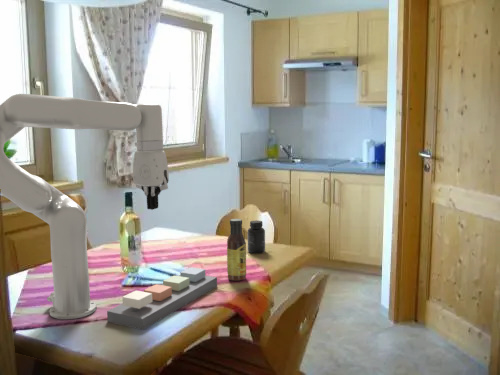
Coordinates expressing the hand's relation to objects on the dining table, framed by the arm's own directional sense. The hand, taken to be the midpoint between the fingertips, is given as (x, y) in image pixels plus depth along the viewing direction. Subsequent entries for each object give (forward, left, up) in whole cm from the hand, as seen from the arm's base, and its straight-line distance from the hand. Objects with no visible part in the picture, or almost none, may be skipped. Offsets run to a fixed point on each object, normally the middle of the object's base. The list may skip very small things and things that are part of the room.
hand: (152, 208), depth 161 cm
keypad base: (+6, -3, -27) cm, 28 cm away
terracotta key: (+6, -7, -24) cm, 26 cm away
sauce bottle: (+14, +25, -27) cm, 40 cm away
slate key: (+6, +11, -24) cm, 27 cm away
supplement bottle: (+5, +57, -27) cm, 63 cm away
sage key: (+6, +2, -24) cm, 25 cm away
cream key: (+6, -16, -23) cm, 29 cm away
